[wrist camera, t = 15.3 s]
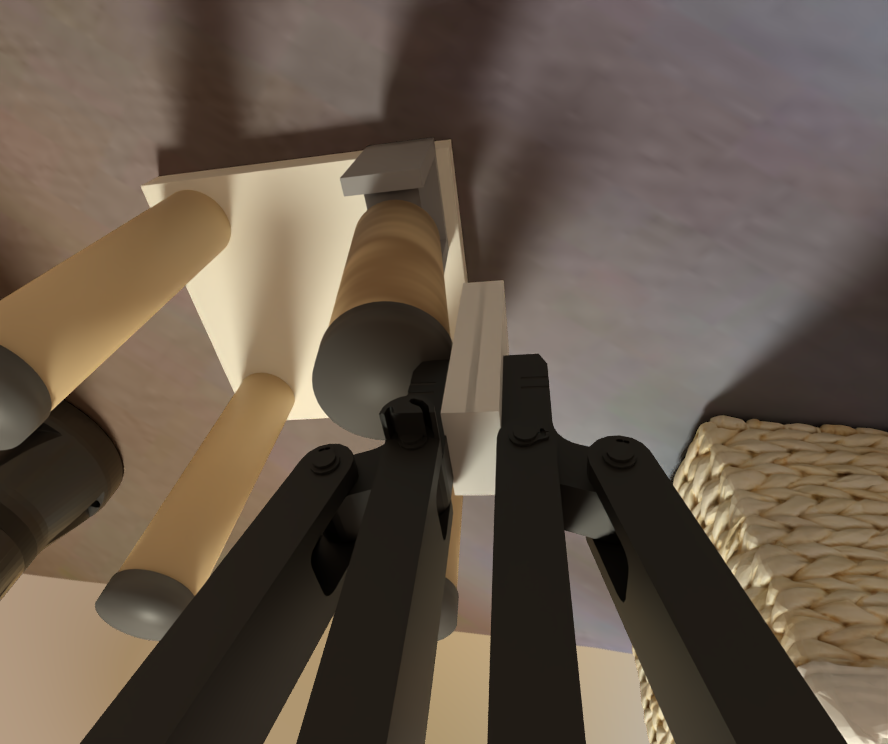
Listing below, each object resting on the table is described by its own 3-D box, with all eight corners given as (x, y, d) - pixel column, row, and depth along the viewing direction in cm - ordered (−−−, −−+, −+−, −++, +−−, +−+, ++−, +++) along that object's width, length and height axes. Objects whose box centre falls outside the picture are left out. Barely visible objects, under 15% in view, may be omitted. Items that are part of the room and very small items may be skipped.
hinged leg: (444, 252, 28) (367, 263, 28) (433, 171, 26) (349, 184, 26) (466, 430, 16) (332, 448, 16) (448, 311, 14) (293, 333, 14)
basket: (874, 627, 53) (1062, 939, 36) (606, 603, 55) (659, 893, 37) (1066, 425, 38) (1572, 807, 20) (682, 398, 39) (839, 734, 21)
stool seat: (257, 405, 42) (118, 644, 27) (154, 166, 32) (-175, 330, 16) (481, 392, 40) (471, 648, 24) (449, 127, 29) (397, 278, 14)
